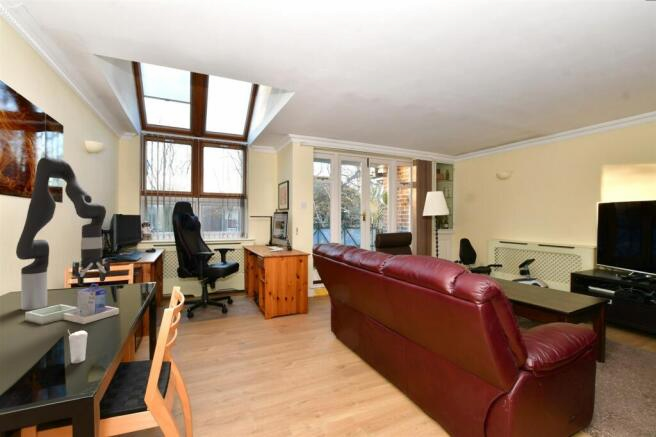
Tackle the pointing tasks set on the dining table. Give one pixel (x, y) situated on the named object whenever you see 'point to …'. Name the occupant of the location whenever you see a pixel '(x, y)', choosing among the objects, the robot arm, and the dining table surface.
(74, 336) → the milkshake
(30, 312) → the tray
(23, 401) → the dining table surface
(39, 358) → the dining table surface
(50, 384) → the dining table surface
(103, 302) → the ink cartridge box
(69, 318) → the white square frame
